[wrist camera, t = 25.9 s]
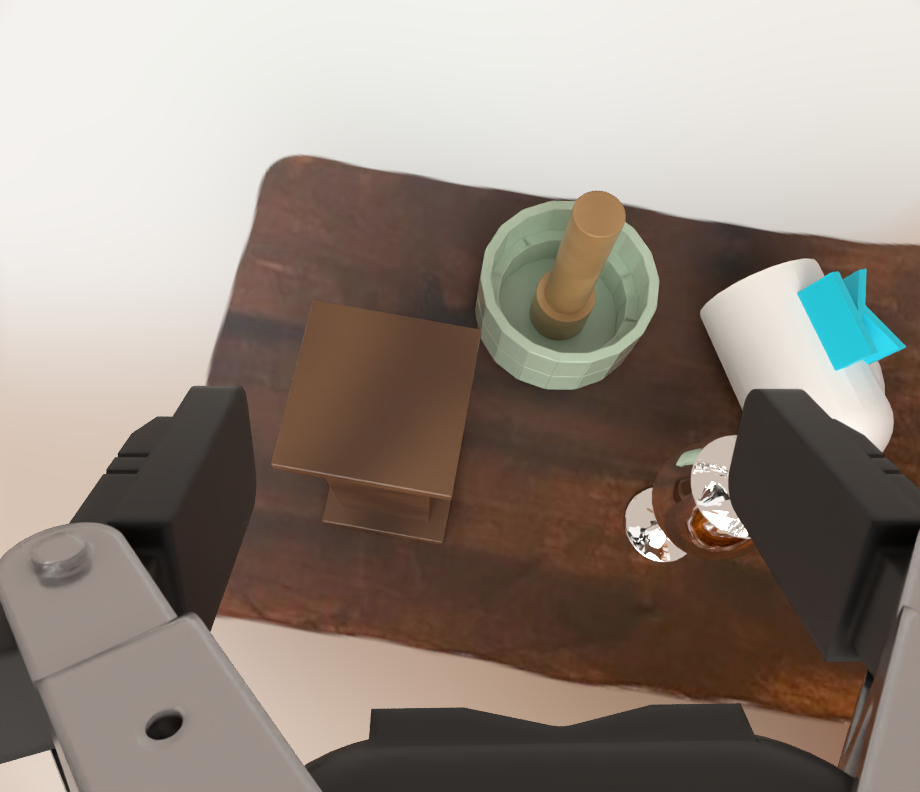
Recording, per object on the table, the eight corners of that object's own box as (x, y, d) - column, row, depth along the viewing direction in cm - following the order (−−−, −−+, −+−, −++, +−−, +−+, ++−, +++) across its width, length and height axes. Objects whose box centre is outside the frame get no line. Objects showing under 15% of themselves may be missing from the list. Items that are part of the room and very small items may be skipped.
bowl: (462, 377, 47) (467, 345, 42) (489, 233, 50) (496, 186, 45) (624, 407, 47) (650, 378, 42) (640, 260, 50) (666, 215, 45)
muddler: (525, 334, 47) (557, 239, 36) (534, 283, 48) (567, 175, 37) (582, 345, 47) (632, 253, 36) (589, 294, 48) (640, 188, 37)
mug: (898, 456, 36) (790, 241, 39) (756, 508, 43) (676, 323, 47) (1017, 419, 42) (915, 235, 45) (874, 470, 49) (795, 309, 53)
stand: (324, 524, 44) (270, 464, 29) (350, 410, 46) (312, 298, 31) (442, 545, 44) (452, 497, 28) (463, 430, 46) (481, 328, 31)
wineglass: (628, 584, 43) (701, 565, 32) (601, 487, 45) (661, 437, 34) (722, 561, 44) (826, 536, 33) (692, 467, 46) (781, 411, 34)
